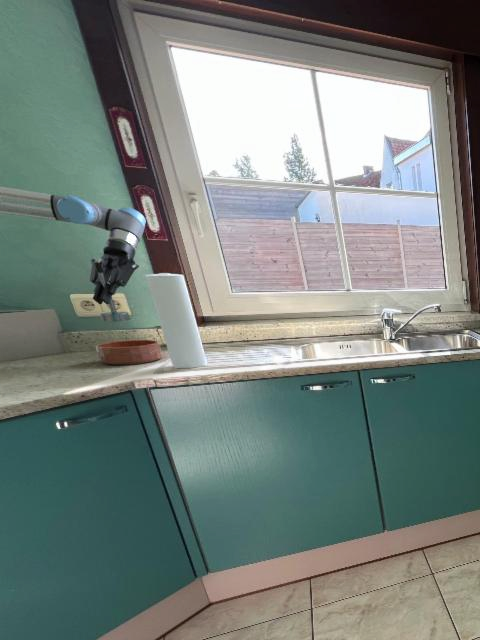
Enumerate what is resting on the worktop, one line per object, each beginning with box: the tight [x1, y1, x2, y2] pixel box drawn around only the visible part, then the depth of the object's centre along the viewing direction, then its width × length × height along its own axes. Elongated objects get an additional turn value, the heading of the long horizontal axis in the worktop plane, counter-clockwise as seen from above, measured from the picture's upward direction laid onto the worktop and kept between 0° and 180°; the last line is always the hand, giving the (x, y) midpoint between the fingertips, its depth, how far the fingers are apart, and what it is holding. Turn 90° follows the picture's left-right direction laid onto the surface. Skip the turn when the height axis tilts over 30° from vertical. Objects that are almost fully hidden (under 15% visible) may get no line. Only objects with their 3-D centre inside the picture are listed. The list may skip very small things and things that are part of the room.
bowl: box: [95, 339, 164, 366], centre depth 172 cm, size 16×16×6 cm
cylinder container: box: [145, 272, 208, 369], centre depth 163 cm, size 9×9×30 cm
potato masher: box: [94, 263, 131, 323], centre depth 163 cm, size 7×7×18 cm
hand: (100, 301), depth 161 cm, fingers closed on potato masher
